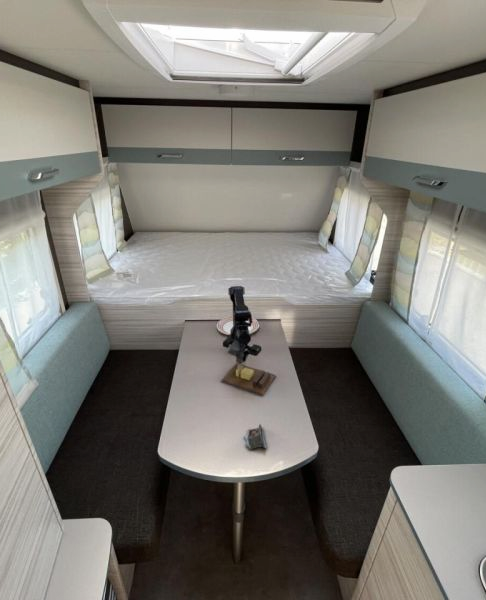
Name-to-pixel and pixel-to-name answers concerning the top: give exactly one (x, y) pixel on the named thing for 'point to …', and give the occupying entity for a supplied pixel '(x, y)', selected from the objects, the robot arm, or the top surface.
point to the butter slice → (238, 372)
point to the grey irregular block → (255, 438)
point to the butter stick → (247, 373)
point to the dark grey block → (240, 361)
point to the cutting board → (255, 384)
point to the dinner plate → (227, 325)
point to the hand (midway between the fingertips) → (241, 360)
